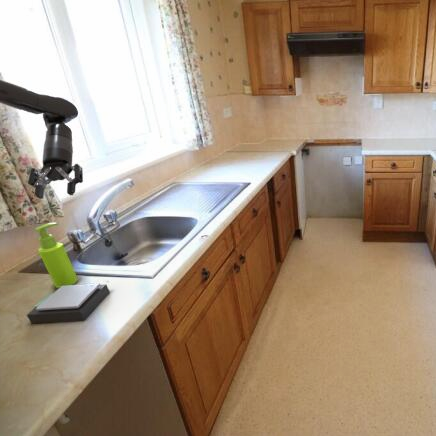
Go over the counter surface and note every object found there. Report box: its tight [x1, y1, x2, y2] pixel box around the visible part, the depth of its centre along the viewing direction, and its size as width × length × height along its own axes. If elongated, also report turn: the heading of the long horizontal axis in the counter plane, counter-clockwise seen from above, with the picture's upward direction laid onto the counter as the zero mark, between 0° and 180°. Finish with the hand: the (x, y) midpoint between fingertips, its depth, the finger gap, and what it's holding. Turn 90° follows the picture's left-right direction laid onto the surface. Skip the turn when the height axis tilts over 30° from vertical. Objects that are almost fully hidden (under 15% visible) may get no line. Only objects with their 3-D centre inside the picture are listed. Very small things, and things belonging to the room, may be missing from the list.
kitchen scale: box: [26, 283, 110, 324], centre depth 91 cm, size 14×12×4 cm
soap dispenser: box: [33, 221, 79, 289], centre depth 99 cm, size 6×7×20 cm
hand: (55, 196), depth 103 cm, fingers open, 8 cm apart
